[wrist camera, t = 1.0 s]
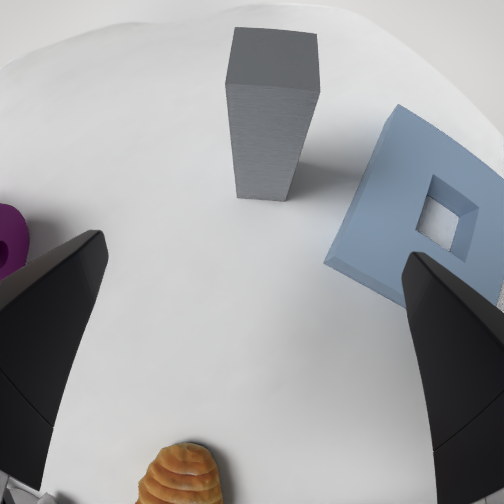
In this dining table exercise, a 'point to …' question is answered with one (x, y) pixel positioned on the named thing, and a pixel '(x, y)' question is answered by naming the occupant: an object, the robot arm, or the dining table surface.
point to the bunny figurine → (30, 497)
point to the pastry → (181, 477)
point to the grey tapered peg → (270, 107)
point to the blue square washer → (410, 206)
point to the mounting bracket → (12, 240)
